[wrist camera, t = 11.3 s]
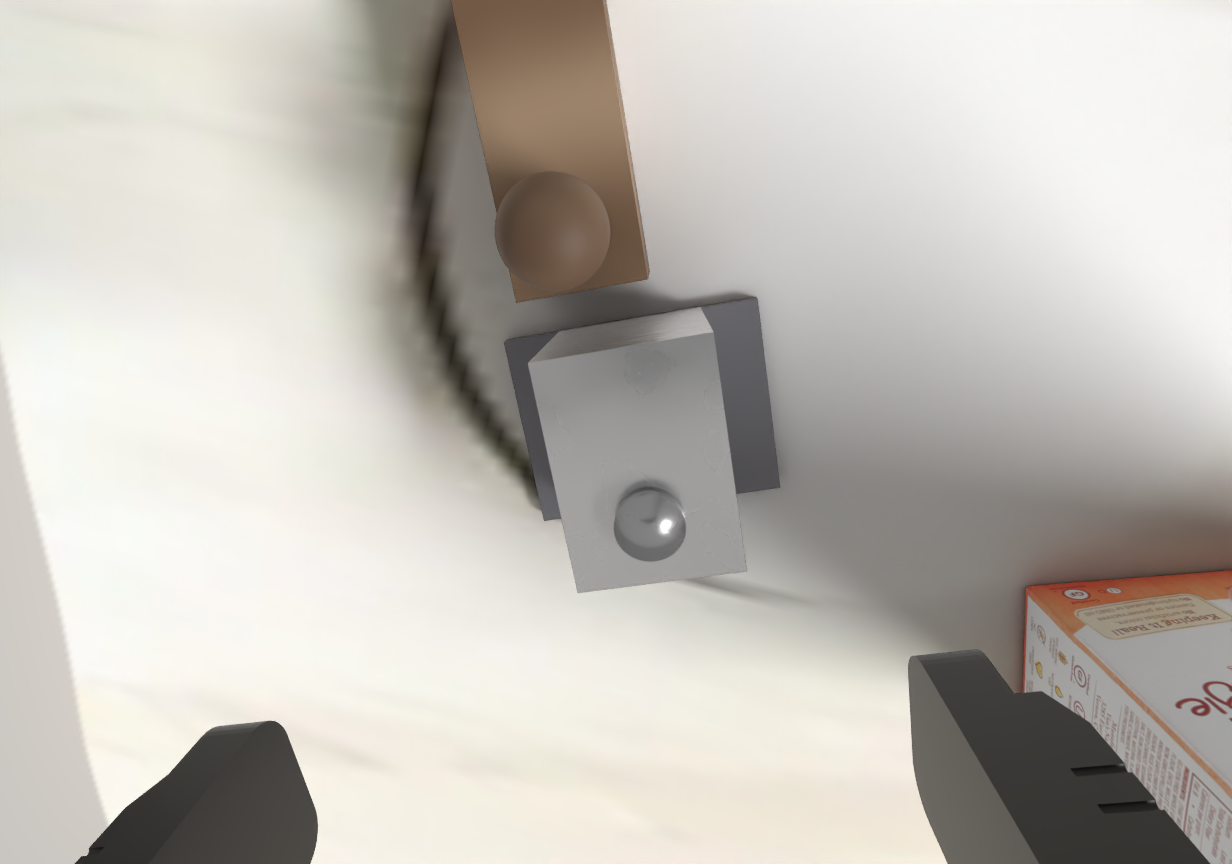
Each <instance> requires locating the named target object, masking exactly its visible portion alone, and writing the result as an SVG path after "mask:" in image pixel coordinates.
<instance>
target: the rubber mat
mask: <svg viewBox="0 0 1232 864" xmlns="http://www.w3.org/2000/svg"><path fill="white" fill-rule="evenodd" d="M700 307H701V309H702V311H703V313H704V315H705V317H706V319H707V321H708V322H709V324H710V326H711V328H712V330H713V332H714V338H715V346H716V353H717V360H718V367H719V374H720V382H721V389H722V396H723V403H724V410H725V417H726V425H727V432H728V439H729V446H730V453H731V461H732V468H733V475H734V482H735V489H736V494H738V493H745V492H752V491H759V490H766V489H773V488H780V483H779V474H778V466H777V458H776V449H775V441H774V432H773V424H772V416H771V407H770V399H769V390H768V382H767V374H766V365H765V357H764V349H763V340H762V332H761V323H760V315H759V307H758V299H757V298H756V297H752V298H746V299H740V300H734V301H729V302H723V303H717V304H711V305H705V306H700ZM694 308H697V307H694ZM688 309H692V308H688ZM682 310H686V309H682ZM676 311H680V310H676ZM671 312H674V311H671ZM665 313H668V312H665ZM659 314H663V313H659ZM653 315H657V314H653ZM647 316H651V315H647ZM642 317H645V316H642ZM636 318H640V317H636ZM630 319H634V318H630ZM624 320H628V319H624ZM618 321H622V320H618ZM613 322H616V321H613ZM607 323H611V322H607ZM601 324H605V323H601ZM595 325H599V324H595ZM589 326H593V325H589ZM584 327H587V326H584ZM578 328H582V327H578ZM572 329H576V328H572ZM566 330H570V329H566ZM560 331H564V330H560ZM558 332H559V331H555V332H549V333H543V334H537V335H531V336H526V337H520V338H514V339H508V340H506V341H505V342H504V344H505V349H506V353H507V358H508V362H509V367H510V371H511V376H512V380H513V384H514V389H515V393H516V398H517V402H518V407H519V411H520V416H521V420H522V425H523V429H524V433H525V438H526V442H527V447H528V451H529V456H530V460H531V465H532V469H533V473H534V478H535V482H536V487H537V491H538V496H539V500H540V505H541V509H542V514H543V518H544V521H547V520H554V519H561V514H560V509H559V505H558V500H557V496H556V491H555V486H554V482H553V477H552V473H551V468H550V463H549V459H548V454H547V450H546V445H545V440H544V436H543V431H542V427H541V422H540V417H539V413H538V408H537V404H536V399H535V394H534V390H533V385H532V381H531V376H530V371H529V367H528V362H529V361H530V360H531V359H532V358H533V357H534V356H535V355H536V354H537V353H538V352H539V351H540V350H541V349H542V348H543V347H544V346H545V345H546V344H547V343H548V342H549V341H550V340H551V339H552V338H553V337H554V336H555V335H556V334H557V333H558Z"/></svg>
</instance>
